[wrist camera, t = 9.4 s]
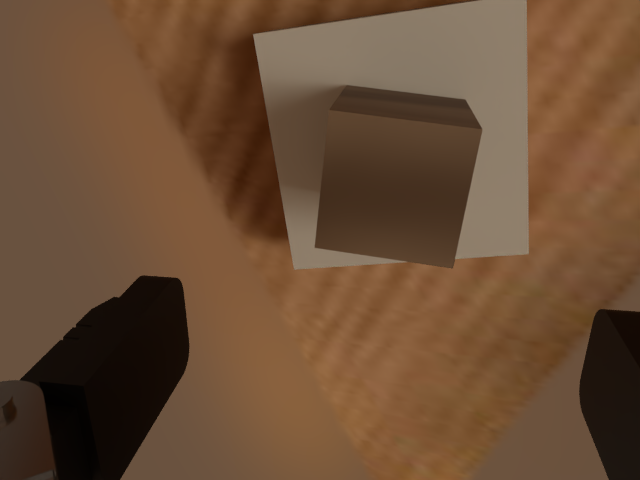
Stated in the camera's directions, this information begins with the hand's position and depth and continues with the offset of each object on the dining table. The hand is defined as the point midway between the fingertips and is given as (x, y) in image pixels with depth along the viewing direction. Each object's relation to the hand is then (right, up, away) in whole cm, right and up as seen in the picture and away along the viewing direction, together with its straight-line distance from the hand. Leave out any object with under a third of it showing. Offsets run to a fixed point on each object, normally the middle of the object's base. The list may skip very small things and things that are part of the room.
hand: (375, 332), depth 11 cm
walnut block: (+2, +6, +14) cm, 15 cm away
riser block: (+3, +7, +17) cm, 19 cm away
